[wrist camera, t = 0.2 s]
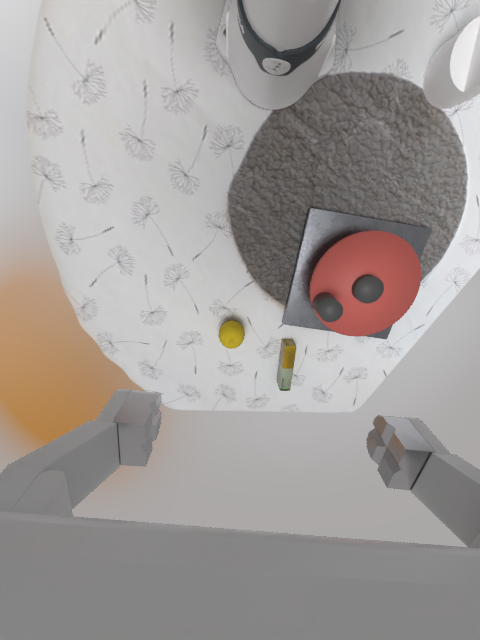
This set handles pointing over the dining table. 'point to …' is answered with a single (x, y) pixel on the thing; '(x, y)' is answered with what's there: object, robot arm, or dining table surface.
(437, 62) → the base with upright slab
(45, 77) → the dining table surface
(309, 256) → the valve stand
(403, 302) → the handwheel
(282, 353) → the medication box
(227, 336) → the lemon
